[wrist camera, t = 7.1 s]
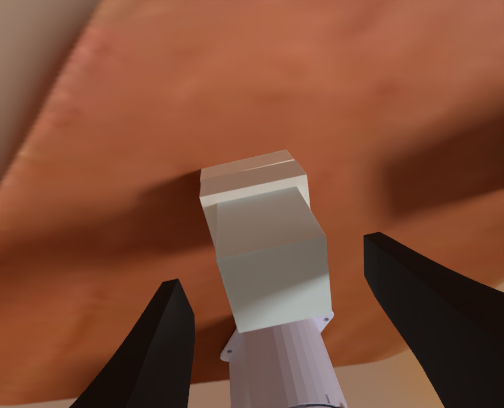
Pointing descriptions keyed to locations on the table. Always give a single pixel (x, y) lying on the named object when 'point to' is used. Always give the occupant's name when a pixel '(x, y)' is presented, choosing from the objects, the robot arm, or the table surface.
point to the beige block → (249, 187)
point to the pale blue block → (272, 259)
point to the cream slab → (246, 164)
